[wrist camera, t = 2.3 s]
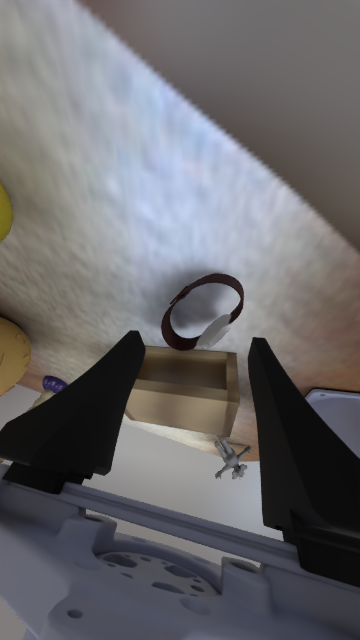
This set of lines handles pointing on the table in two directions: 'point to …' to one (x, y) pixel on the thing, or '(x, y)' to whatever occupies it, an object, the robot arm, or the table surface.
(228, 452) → the gray toy figurine
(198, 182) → the table surface
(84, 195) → the table surface
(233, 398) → the shelf
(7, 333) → the stress ball
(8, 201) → the lemon
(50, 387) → the toy lamp
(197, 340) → the watch
